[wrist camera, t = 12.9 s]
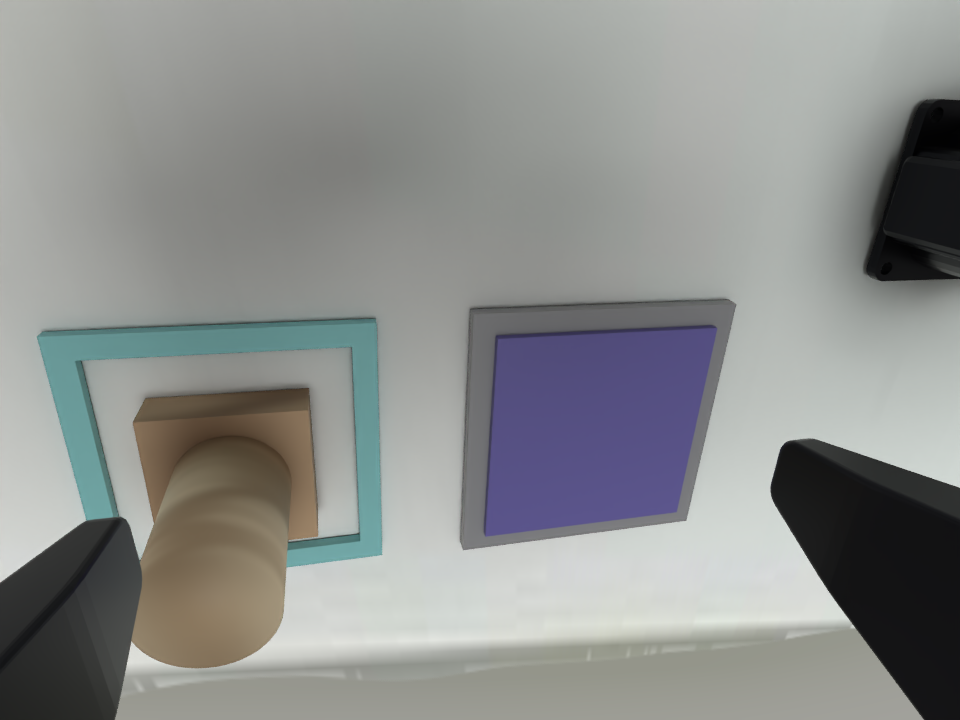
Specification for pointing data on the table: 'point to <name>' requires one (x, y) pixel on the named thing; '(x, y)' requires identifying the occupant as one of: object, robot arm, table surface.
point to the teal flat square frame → (360, 334)
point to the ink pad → (586, 416)
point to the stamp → (221, 520)
